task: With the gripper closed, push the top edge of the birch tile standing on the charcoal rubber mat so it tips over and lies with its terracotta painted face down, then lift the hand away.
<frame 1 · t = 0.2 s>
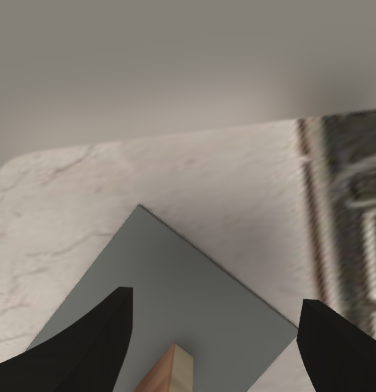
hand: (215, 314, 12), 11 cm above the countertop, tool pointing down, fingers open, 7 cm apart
tile: (161, 377, 23), point 1 cm above the countertop, touching mat
mat: (143, 357, 24), on the countertop
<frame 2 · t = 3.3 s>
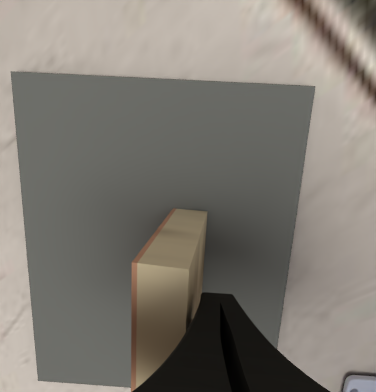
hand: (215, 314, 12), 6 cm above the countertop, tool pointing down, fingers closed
tile: (189, 258, 17), point 1 cm above the countertop, tilted 7°, touching mat
mat: (157, 250, 18), on the countertop
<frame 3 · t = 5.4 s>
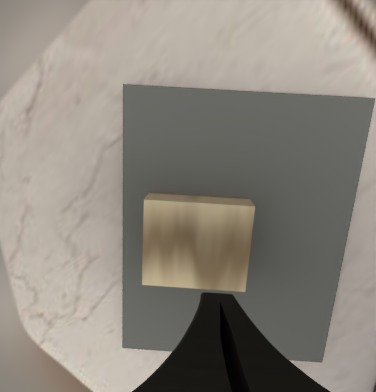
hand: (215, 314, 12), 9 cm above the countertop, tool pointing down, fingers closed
tile: (247, 245, 19), point 2 cm above the countertop, tilted 90°, touching mat
mat: (232, 235, 21), on the countertop
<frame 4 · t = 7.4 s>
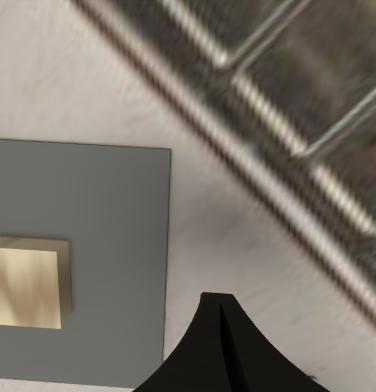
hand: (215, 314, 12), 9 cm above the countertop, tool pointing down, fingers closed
tile: (64, 284, 21), point 2 cm above the countertop, tilted 90°, touching mat
mat: (63, 272, 22), on the countertop
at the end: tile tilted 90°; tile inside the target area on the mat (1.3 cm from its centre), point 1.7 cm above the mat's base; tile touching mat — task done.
